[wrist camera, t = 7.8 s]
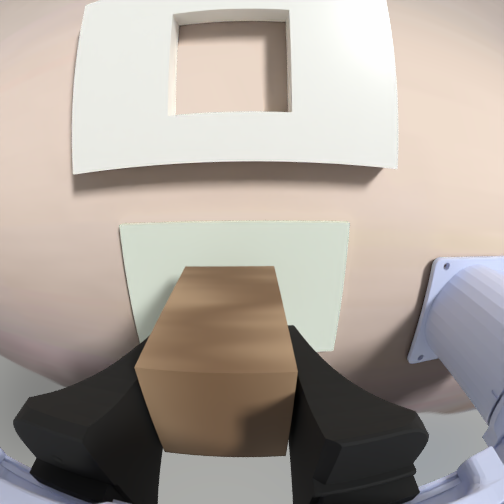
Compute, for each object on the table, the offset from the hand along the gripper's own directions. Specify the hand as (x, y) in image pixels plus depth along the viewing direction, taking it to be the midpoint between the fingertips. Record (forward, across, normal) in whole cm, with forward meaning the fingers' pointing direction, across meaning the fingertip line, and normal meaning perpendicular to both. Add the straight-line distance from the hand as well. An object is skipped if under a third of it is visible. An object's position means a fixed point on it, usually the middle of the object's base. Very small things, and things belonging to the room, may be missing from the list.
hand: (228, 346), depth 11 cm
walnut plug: (+3, 0, 0) cm, 3 cm away
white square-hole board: (+5, 0, -12) cm, 13 cm away
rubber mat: (+5, 0, 0) cm, 5 cm away
